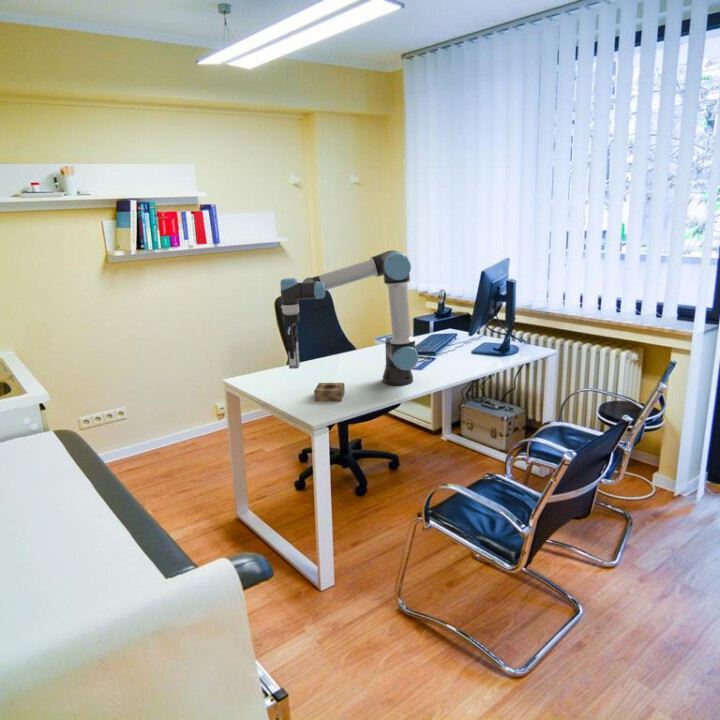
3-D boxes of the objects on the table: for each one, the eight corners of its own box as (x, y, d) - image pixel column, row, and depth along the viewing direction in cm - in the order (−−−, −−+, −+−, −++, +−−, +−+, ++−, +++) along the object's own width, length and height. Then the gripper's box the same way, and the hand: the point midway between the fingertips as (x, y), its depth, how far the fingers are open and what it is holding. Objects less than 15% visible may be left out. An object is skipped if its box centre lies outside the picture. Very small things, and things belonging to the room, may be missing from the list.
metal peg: (299, 366, 269) (297, 340, 266) (297, 368, 266) (296, 342, 263) (291, 366, 270) (289, 340, 267) (289, 368, 266) (287, 342, 263)
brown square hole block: (344, 393, 275) (344, 382, 273) (341, 401, 263) (340, 390, 262) (319, 392, 276) (318, 382, 275) (314, 401, 265) (314, 390, 263)
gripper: (286, 310, 270) (290, 359, 276) (277, 317, 254) (281, 369, 260) (302, 309, 269) (306, 358, 275) (294, 317, 253) (298, 369, 259)
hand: (294, 363), depth 267 cm, fingers closed on metal peg, 4 cm apart
